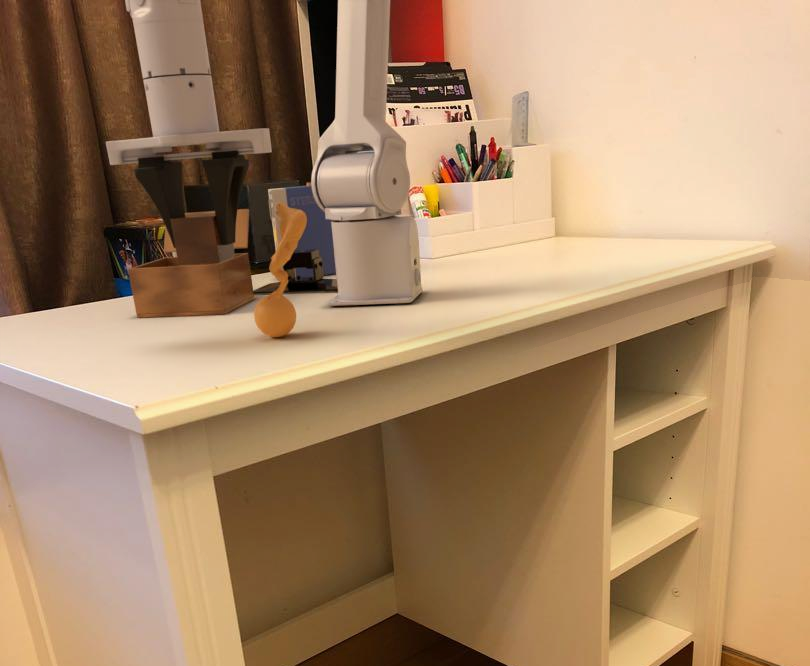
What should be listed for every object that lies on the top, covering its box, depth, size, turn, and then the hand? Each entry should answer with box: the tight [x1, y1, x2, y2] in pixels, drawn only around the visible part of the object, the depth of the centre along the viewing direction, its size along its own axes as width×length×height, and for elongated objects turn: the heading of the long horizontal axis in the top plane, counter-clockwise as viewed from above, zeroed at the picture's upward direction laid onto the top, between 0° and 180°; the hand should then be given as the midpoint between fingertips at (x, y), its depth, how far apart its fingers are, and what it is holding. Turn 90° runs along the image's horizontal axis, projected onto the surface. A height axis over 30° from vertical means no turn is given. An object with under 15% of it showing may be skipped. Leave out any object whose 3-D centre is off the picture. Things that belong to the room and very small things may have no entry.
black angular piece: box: [253, 249, 338, 295], centre depth 111 cm, size 12×7×5 cm, turn 76°
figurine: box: [253, 203, 307, 338], centre depth 82 cm, size 8×6×12 cm
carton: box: [127, 252, 255, 319], centre depth 103 cm, size 11×10×5 cm
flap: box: [163, 208, 250, 253], centre depth 106 cm, size 11×5×1 cm
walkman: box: [267, 182, 336, 277], centre depth 120 cm, size 8×3×12 cm, turn 112°
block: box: [171, 213, 236, 265], centre depth 80 cm, size 4×4×4 cm
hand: (204, 245), depth 80 cm, fingers closed on block, 4 cm apart
